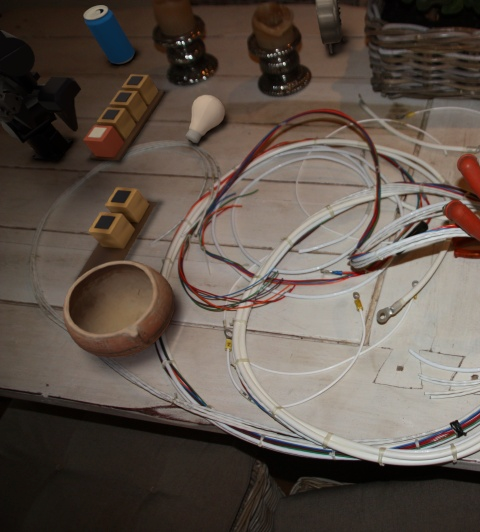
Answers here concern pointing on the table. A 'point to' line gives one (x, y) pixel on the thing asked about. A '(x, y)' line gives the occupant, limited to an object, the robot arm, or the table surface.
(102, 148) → the letter S
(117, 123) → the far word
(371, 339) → the table surface
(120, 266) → the bowl
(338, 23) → the alarm clock
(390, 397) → the table surface
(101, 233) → the wooden block tray
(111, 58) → the beverage can
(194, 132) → the light bulb
